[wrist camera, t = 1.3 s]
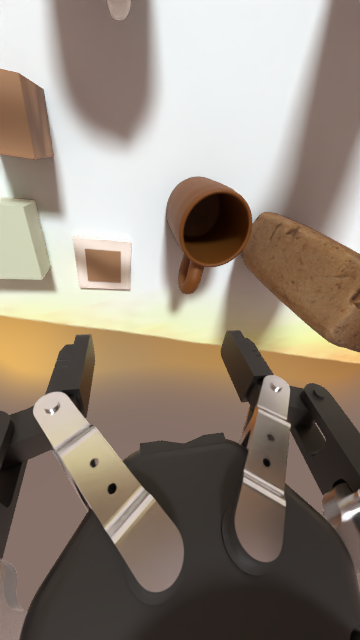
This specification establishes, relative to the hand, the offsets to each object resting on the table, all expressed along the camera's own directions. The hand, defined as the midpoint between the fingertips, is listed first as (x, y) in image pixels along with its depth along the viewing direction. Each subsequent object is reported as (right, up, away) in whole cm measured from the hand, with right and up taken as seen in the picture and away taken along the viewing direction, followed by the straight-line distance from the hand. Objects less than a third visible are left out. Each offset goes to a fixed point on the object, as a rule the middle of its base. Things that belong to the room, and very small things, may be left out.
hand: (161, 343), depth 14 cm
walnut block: (-14, +20, +8) cm, 26 cm away
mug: (+2, +14, +17) cm, 22 cm away
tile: (-9, +9, +18) cm, 22 cm away
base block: (-20, +12, +14) cm, 27 cm away
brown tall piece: (+15, +13, +20) cm, 28 cm away
